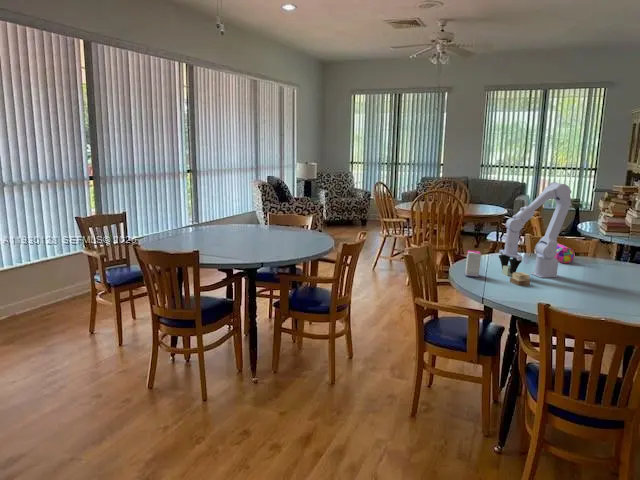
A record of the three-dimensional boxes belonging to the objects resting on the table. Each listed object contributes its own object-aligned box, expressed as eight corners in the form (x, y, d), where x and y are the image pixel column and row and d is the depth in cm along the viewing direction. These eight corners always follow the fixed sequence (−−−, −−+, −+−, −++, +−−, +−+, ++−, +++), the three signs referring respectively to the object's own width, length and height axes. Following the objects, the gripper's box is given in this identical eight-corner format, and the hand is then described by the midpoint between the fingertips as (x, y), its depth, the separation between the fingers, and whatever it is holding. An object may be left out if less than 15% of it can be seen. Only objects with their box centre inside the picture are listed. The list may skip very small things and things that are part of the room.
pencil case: (540, 254, 281) (542, 239, 279) (557, 255, 281) (559, 239, 279) (556, 264, 260) (559, 247, 258) (575, 264, 260) (577, 247, 258)
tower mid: (521, 277, 223) (522, 272, 223) (528, 280, 218) (529, 275, 218) (512, 277, 222) (512, 272, 222) (519, 281, 217) (519, 275, 217)
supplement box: (478, 277, 228) (481, 253, 225) (465, 276, 229) (467, 252, 227) (477, 274, 233) (479, 251, 231) (464, 273, 235) (466, 250, 232)
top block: (509, 273, 238) (510, 265, 237) (514, 275, 234) (515, 267, 233) (502, 273, 236) (502, 265, 236) (507, 276, 233) (508, 267, 232)
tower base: (520, 282, 225) (521, 276, 224) (529, 286, 219) (530, 280, 218) (509, 282, 223) (510, 277, 223) (517, 286, 217) (518, 281, 217)
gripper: (495, 240, 238) (492, 268, 241) (513, 247, 224) (510, 276, 227) (507, 240, 240) (504, 267, 242) (527, 246, 226) (523, 275, 229)
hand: (508, 271), depth 235 cm, fingers open, 6 cm apart
